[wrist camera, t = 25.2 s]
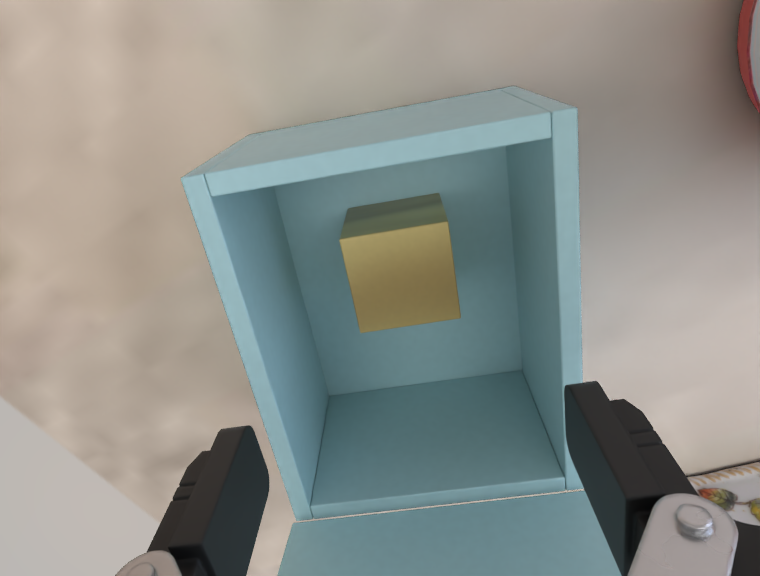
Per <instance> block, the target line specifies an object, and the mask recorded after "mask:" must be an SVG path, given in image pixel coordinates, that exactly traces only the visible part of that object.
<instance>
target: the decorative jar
mask: <svg viewBox="0 0 760 576" xmlns="http://www.w3.org/2000/svg"><path fill="white" fill-rule="evenodd" d="M687 479H688V480H689V481H690V483H691V484H692V486H693V487H694V489H695V490H696V492H697V493H698V495H699V496H700V497H703V498H706V499H708V500H710V501H712V502H714V503H716V504H717V505H719V506H720V507H722V508H723V509H724V510H725V511H726V512H727V513H728V514H729V515H730V516H731V517H732V519H734V520H736V521H740V522H743V523H747V524H752V525H758V526H760V462H756V463H751V464H747V465H742V466H738V467H733V468H729V469H724V470H720V471H717V472H713V473H709V474H704V475H699V476H692V477H687Z"/></svg>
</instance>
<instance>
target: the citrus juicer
mask: <svg viewBox="0 0 760 576" xmlns="http://www.w3.org/2000/svg"><path fill="white" fill-rule="evenodd" d="M737 49H738V58H739V66H740V73H741V76H742V79H743V82H744V84H745V87H746V90H747V93H748V96H749V97H750V99H751V101H752V103H753V105H754V106H755V108H756V109H757V110H758V112H759V113H760V0H744V1H743V5H742V9H741V12H740V16H739V28H738V41H737Z"/></svg>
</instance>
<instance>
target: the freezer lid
mask: <svg viewBox="0 0 760 576" xmlns="http://www.w3.org/2000/svg"><path fill="white" fill-rule="evenodd" d="M277 576H622V575H621V573H620V571H619V568H618V566H617V564H616V562H615V559H614V557H613V555H612V552H611V550H610V548H609V545H608V543H607V541H606V538H605V536H604V534H603V531H602V529H601V527H600V524H599V522H598V520H597V517H596V515H595V513H594V511H593V508H592V506H591V504H590V501H589V499H588V497H587V494H586V492H585V491H577V492H568V493H559V494H550V495H541V496H533V497H524V498H515V499H506V500H497V501H488V502H479V503H470V504H461V505H452V506H443V507H434V508H425V509H416V510H407V511H399V512H390V513H381V514H372V515H363V516H354V517H345V518H336V519H327V520H318V521H309V522H300V523H293V525H292V528H291V531H290V535H289V538H288V541H287V545H286V548H285V552H284V555H283V558H282V562H281V565H280V568H279V572H278V575H277Z"/></svg>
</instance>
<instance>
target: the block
mask: <svg viewBox="0 0 760 576" xmlns="http://www.w3.org/2000/svg"><path fill="white" fill-rule="evenodd" d="M339 242H340V246H341V251H342V255H343V260H344V264H345V268H346V273H347V277H348V282H349V286H350V290H351V295H352V299H353V304H354V308H355V313H356V317H357V321H358V326H359V330H360V333H366V332H373V331H379V330H386V329H393V328H400V327H406V326H413V325H420V324H427V323H433V322H440V321H447V320H453V319H460V318H461V312H460V304H459V297H458V289H457V282H456V274H455V266H454V259H453V251H452V244H451V236H450V229H449V222H448V219H447V215H446V212H445V209H444V206H443V203H442V200H441V197H440V194H439V193H434V194H428V195H423V196H417V197H411V198H405V199H399V200H393V201H388V202H382V203H376V204H370V205H364V206H358V207H353V208H348V209H347V213H346V217H345V220H344V224H343V228H342V232H341V235H340V239H339Z"/></svg>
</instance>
